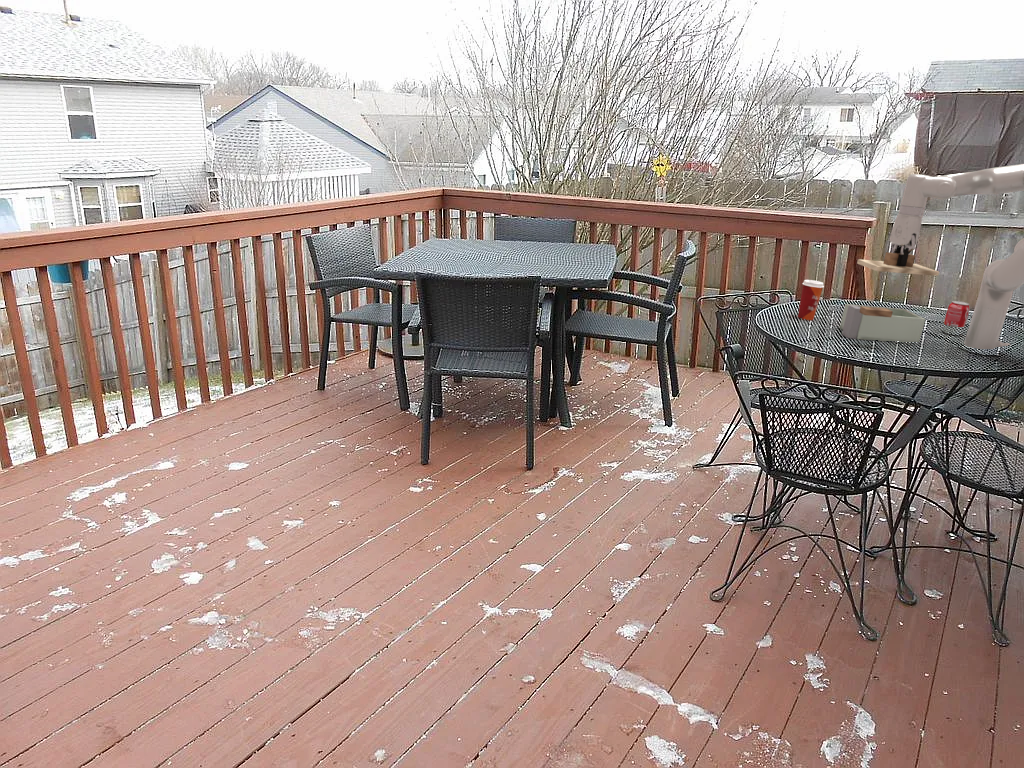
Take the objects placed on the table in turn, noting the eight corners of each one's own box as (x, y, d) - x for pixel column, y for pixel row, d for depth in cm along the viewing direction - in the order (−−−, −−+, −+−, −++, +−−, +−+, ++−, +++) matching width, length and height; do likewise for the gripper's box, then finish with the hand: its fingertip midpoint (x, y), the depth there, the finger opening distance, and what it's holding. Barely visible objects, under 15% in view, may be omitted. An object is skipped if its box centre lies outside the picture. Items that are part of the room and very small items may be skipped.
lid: (915, 267, 277) (919, 252, 275) (938, 275, 264) (942, 259, 262) (856, 263, 275) (860, 248, 273) (876, 271, 262) (880, 255, 260)
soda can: (957, 332, 290) (966, 301, 286) (965, 337, 284) (975, 305, 280) (937, 330, 291) (946, 299, 287) (945, 335, 284) (955, 303, 280)
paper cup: (812, 322, 284) (821, 284, 279) (792, 317, 288) (800, 280, 284) (819, 319, 290) (827, 282, 285) (798, 314, 294) (806, 278, 290)
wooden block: (885, 314, 257) (886, 308, 256) (891, 317, 253) (892, 311, 253) (859, 312, 257) (860, 306, 256) (864, 315, 253) (866, 309, 252)
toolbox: (898, 333, 280) (905, 305, 277) (918, 344, 267) (926, 314, 263) (831, 327, 279) (838, 299, 275) (848, 338, 265) (855, 308, 262)
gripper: (888, 208, 270) (875, 260, 276) (914, 213, 255) (900, 268, 261) (908, 209, 271) (895, 261, 277) (935, 215, 255) (921, 270, 261)
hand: (898, 264), depth 269 cm, fingers closed on lid, 3 cm apart
